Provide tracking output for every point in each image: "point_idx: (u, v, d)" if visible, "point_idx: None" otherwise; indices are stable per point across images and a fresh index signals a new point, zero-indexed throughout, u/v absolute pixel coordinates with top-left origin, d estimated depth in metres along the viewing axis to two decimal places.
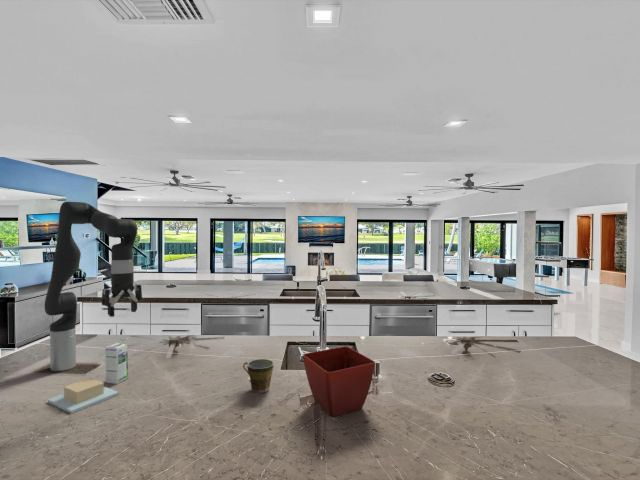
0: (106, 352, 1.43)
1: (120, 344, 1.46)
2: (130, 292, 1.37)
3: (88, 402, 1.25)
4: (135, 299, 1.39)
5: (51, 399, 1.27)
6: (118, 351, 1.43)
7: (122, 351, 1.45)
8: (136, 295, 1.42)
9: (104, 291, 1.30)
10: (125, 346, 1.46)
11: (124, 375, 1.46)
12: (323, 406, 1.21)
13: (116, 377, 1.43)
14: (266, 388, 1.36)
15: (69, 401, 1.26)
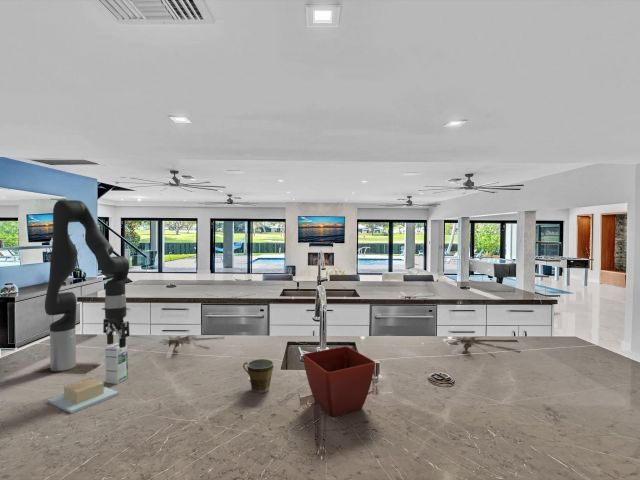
0: (106, 352, 1.43)
1: None
2: None
3: (88, 402, 1.25)
4: None
5: (51, 399, 1.27)
6: (118, 351, 1.43)
7: (122, 351, 1.45)
8: (105, 329, 1.47)
9: (126, 323, 1.42)
10: (125, 346, 1.46)
11: (124, 375, 1.46)
12: (323, 406, 1.21)
13: (116, 377, 1.42)
14: (266, 388, 1.36)
15: (69, 401, 1.26)
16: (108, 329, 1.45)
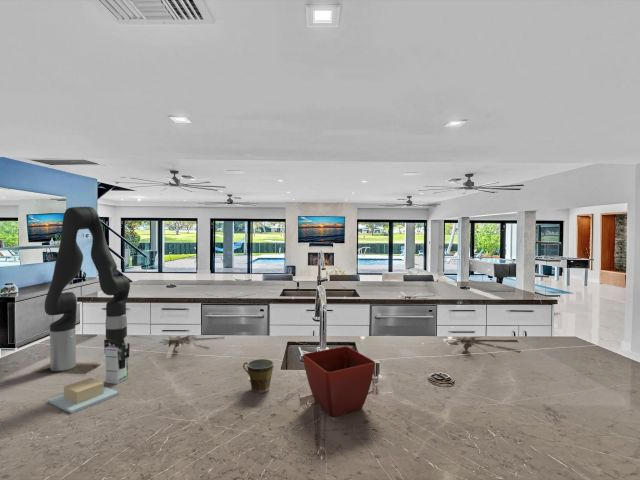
0: (106, 352, 1.43)
1: None
2: None
3: (88, 402, 1.25)
4: None
5: (51, 399, 1.27)
6: None
7: None
8: None
9: (127, 345, 1.42)
10: None
11: (124, 375, 1.46)
12: (323, 406, 1.21)
13: (116, 377, 1.42)
14: (266, 388, 1.36)
15: (69, 401, 1.26)
16: None
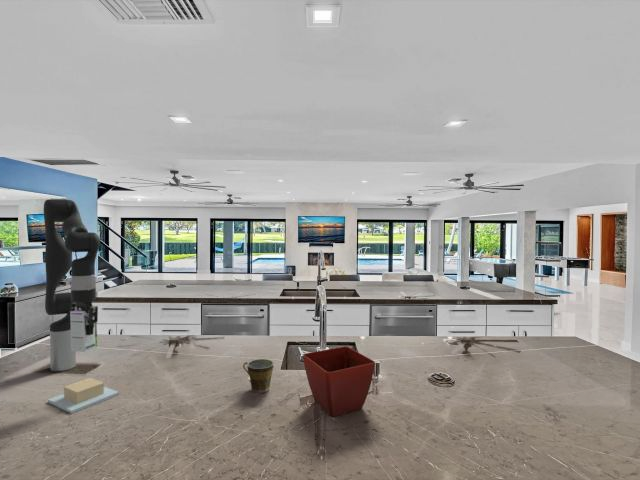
0: (71, 316, 1.27)
1: None
2: None
3: (88, 402, 1.25)
4: None
5: (51, 399, 1.27)
6: (85, 315, 1.27)
7: None
8: None
9: (94, 309, 1.26)
10: None
11: (92, 343, 1.30)
12: (323, 406, 1.21)
13: (83, 345, 1.27)
14: (266, 388, 1.36)
15: (69, 401, 1.26)
16: None
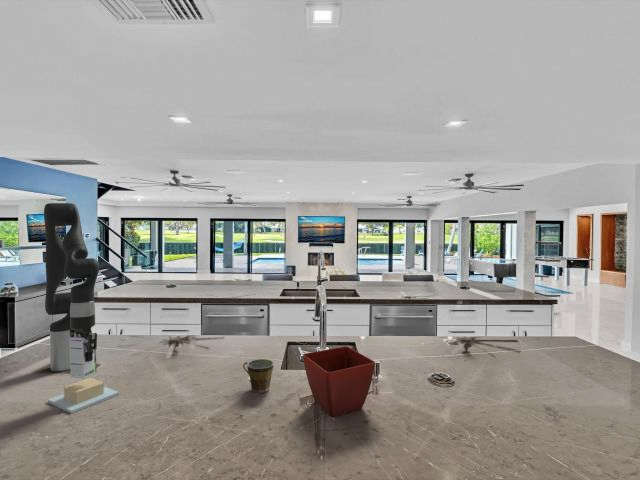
0: (71, 343, 1.27)
1: None
2: None
3: (88, 402, 1.25)
4: None
5: (51, 399, 1.27)
6: None
7: None
8: None
9: (93, 335, 1.26)
10: None
11: (91, 369, 1.30)
12: (323, 406, 1.21)
13: (82, 372, 1.27)
14: (266, 388, 1.36)
15: (69, 401, 1.26)
16: None
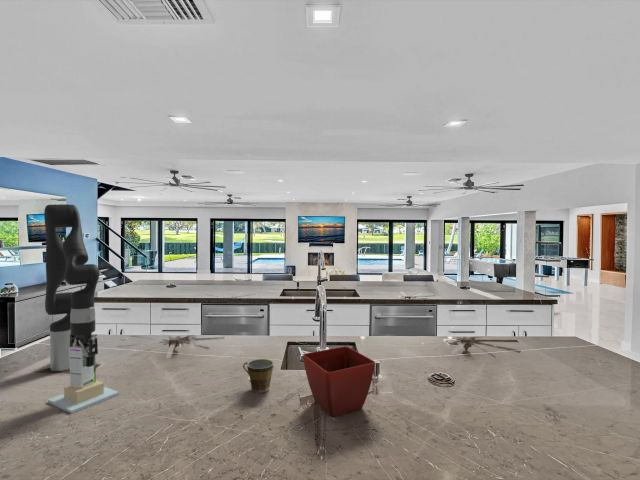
0: (70, 352, 1.28)
1: None
2: None
3: (88, 402, 1.25)
4: None
5: (51, 399, 1.27)
6: (83, 352, 1.27)
7: None
8: None
9: (94, 340, 1.26)
10: None
11: (90, 379, 1.30)
12: (323, 406, 1.21)
13: (81, 381, 1.27)
14: (266, 388, 1.36)
15: (69, 401, 1.26)
16: None
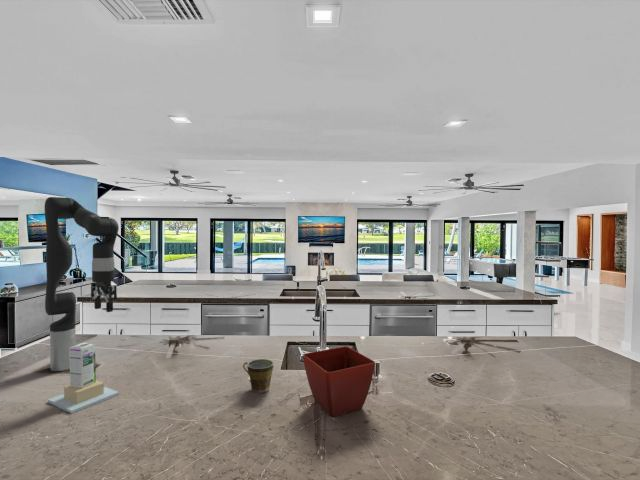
0: (70, 352, 1.28)
1: (87, 344, 1.31)
2: None
3: (88, 402, 1.25)
4: None
5: (51, 399, 1.27)
6: (83, 352, 1.27)
7: (88, 352, 1.29)
8: None
9: (113, 287, 1.37)
10: (92, 346, 1.31)
11: (90, 379, 1.30)
12: (323, 406, 1.21)
13: (81, 381, 1.27)
14: (266, 388, 1.36)
15: (69, 401, 1.26)
16: (95, 293, 1.40)
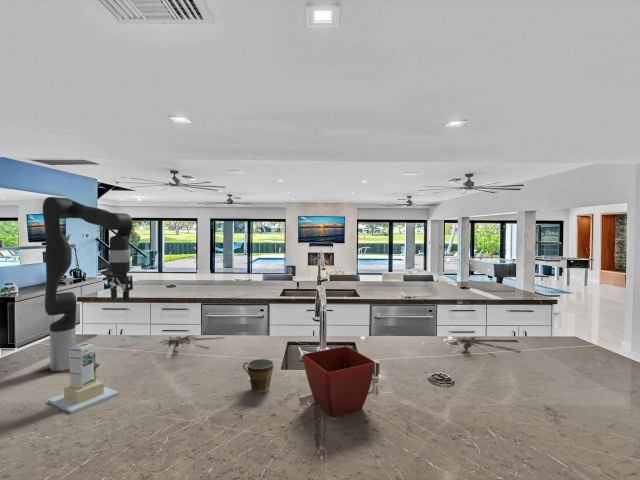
0: (70, 352, 1.28)
1: (87, 344, 1.31)
2: None
3: (88, 402, 1.25)
4: None
5: (51, 399, 1.27)
6: (83, 352, 1.27)
7: (88, 352, 1.29)
8: None
9: (129, 277, 1.47)
10: (92, 346, 1.31)
11: (90, 379, 1.30)
12: (323, 406, 1.21)
13: (81, 381, 1.27)
14: (266, 388, 1.36)
15: (69, 401, 1.26)
16: (112, 283, 1.50)
